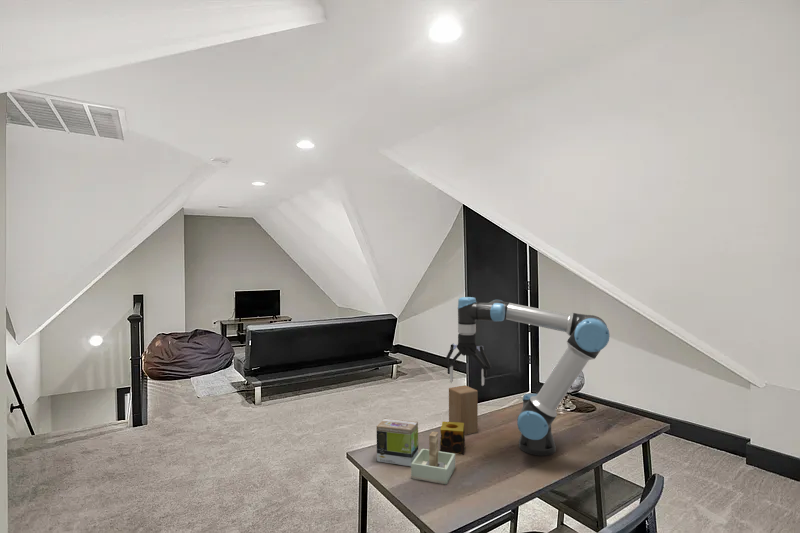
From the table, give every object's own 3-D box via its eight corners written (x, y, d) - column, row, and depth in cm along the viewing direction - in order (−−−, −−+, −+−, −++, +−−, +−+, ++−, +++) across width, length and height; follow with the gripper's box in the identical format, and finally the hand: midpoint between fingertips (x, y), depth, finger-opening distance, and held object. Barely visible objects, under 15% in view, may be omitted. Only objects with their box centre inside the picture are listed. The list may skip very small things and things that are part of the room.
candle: (464, 455, 180) (463, 431, 180) (439, 453, 182) (439, 429, 182) (465, 445, 190) (465, 422, 190) (442, 443, 192) (442, 420, 192)
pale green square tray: (455, 467, 169) (455, 453, 169) (446, 484, 156) (446, 469, 156) (422, 462, 174) (422, 448, 174) (411, 478, 161) (411, 463, 161)
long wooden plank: (438, 468, 166) (438, 432, 166) (435, 473, 163) (435, 436, 162) (432, 467, 167) (432, 431, 167) (429, 472, 163) (429, 435, 163)
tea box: (418, 456, 179) (418, 421, 178) (411, 467, 169) (411, 430, 169) (384, 451, 184) (384, 416, 183) (376, 461, 174) (375, 425, 174)
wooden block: (448, 429, 208) (448, 387, 207) (465, 425, 212) (465, 384, 212) (460, 436, 199) (460, 393, 198) (478, 432, 203) (477, 390, 203)
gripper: (497, 333, 183) (497, 383, 183) (440, 330, 192) (440, 378, 192) (495, 336, 176) (495, 388, 176) (436, 333, 185) (436, 382, 185)
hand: (467, 383), depth 184 cm, fingers open, 13 cm apart
